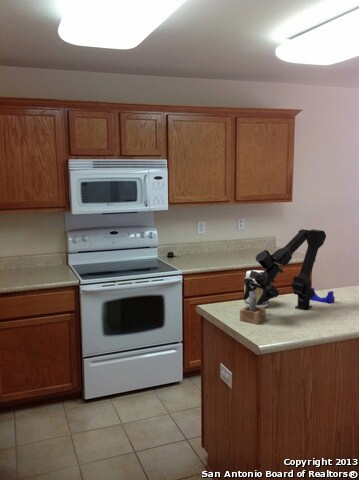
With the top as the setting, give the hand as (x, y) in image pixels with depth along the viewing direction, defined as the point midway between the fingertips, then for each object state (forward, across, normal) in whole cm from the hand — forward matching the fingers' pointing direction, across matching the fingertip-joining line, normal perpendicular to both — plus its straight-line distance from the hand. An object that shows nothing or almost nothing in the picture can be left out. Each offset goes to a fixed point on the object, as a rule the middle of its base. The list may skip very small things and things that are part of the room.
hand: (250, 302), depth 187 cm
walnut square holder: (+5, 0, +7) cm, 9 cm away
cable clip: (-29, -3, +42) cm, 51 cm away
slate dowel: (+5, 0, +7) cm, 9 cm away
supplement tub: (-6, -16, +19) cm, 25 cm away
